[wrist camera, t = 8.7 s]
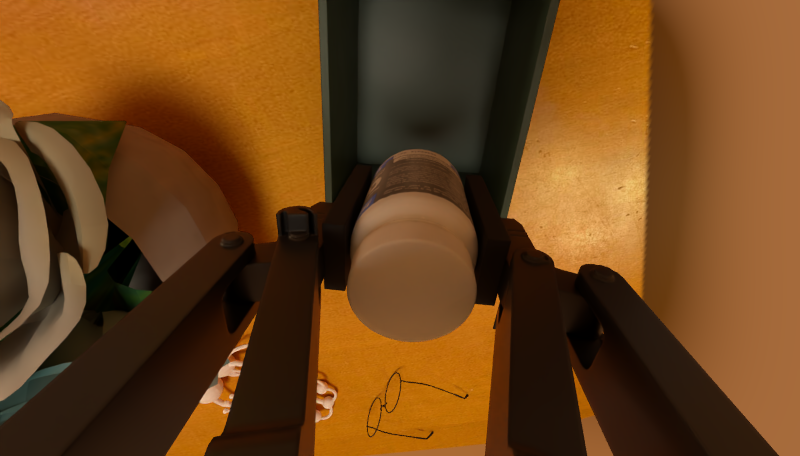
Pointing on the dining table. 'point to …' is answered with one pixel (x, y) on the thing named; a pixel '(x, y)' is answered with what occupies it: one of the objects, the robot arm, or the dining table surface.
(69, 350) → the flower arrangement
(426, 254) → the pill bottle
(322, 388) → the tangled rod sculpture
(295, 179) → the dining table surface
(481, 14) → the open dark green box
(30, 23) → the dining table surface
